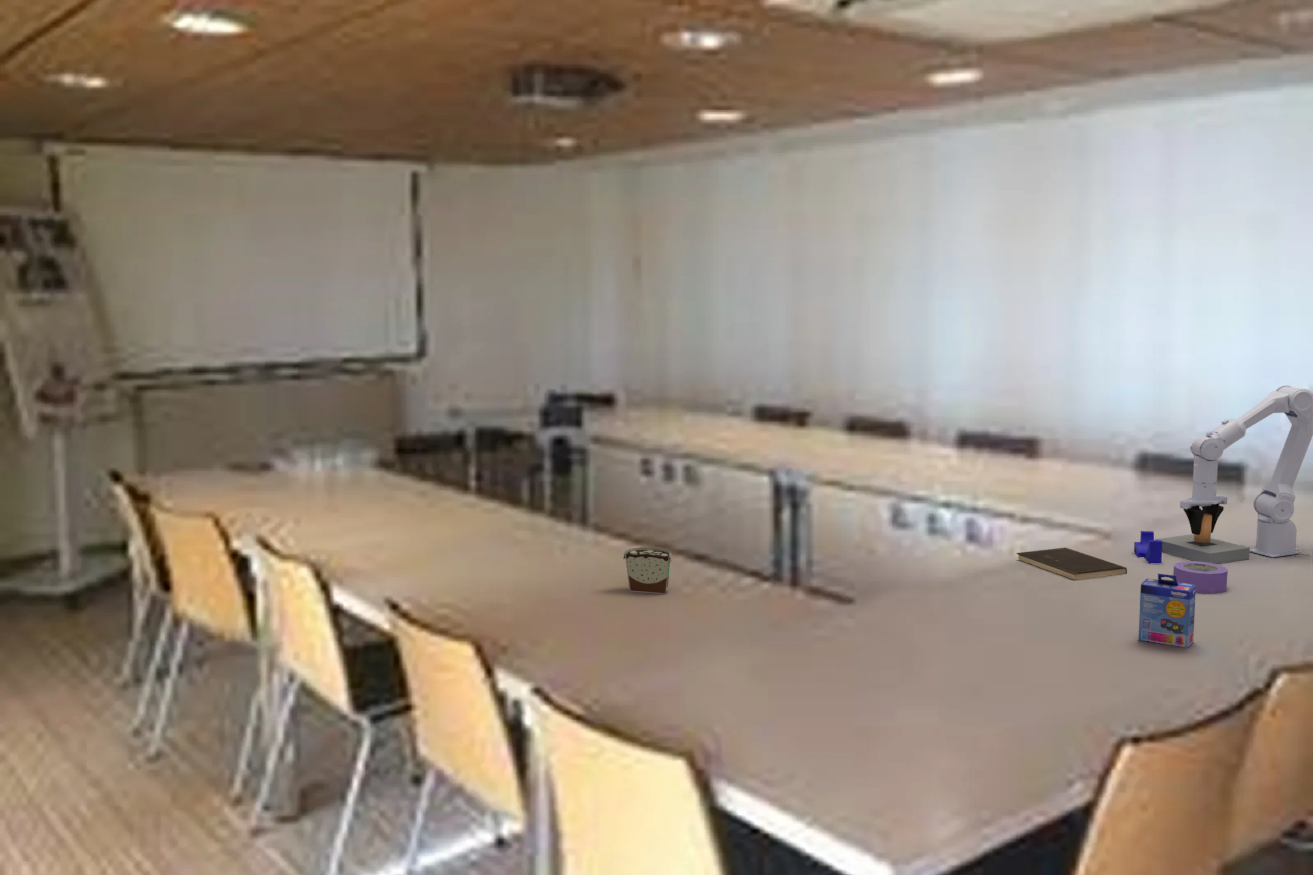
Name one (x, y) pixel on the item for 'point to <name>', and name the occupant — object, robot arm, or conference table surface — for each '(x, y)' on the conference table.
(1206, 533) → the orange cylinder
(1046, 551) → the hardcover book
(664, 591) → the food container
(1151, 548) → the cable clip
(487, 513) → the conference table surface
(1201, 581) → the tape roll
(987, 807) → the conference table surface
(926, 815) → the conference table surface
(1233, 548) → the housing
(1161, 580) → the ink cartridge box
